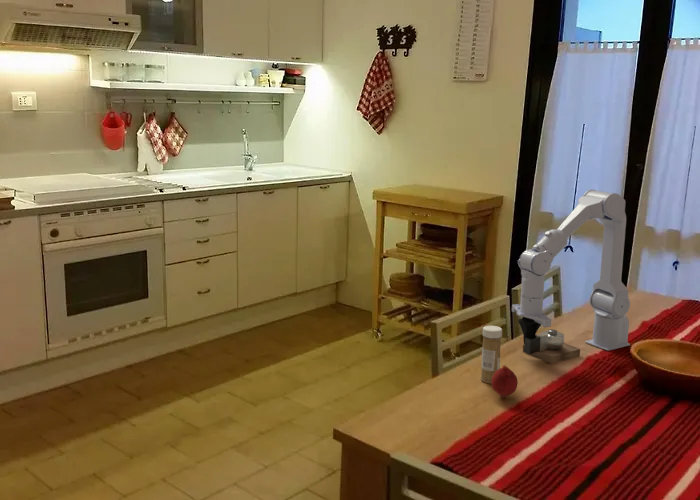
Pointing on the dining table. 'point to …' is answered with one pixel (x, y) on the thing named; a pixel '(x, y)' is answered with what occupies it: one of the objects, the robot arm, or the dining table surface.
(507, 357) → the dining table surface
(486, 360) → the sprinkles bottle
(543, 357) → the walnut base
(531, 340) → the lever handle
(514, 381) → the onion
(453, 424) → the dining table surface
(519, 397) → the dining table surface
